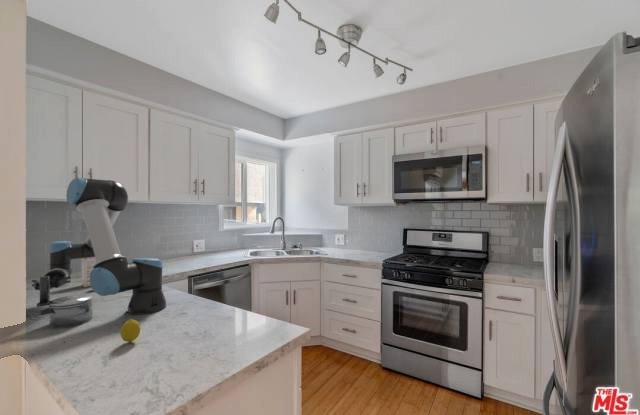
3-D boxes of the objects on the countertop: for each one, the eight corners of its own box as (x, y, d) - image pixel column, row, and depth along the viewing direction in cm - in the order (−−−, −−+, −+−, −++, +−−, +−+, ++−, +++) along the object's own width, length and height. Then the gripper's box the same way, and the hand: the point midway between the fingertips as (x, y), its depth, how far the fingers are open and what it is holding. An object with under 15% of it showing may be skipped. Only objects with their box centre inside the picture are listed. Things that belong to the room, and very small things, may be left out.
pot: (83, 313, 125) (84, 295, 125) (99, 319, 118) (99, 299, 118) (32, 326, 110) (32, 306, 110) (46, 334, 104) (47, 312, 104)
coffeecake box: (110, 280, 184) (110, 250, 184) (114, 282, 180) (114, 251, 180) (81, 285, 172) (81, 253, 172) (84, 287, 168) (85, 254, 168)
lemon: (125, 348, 93) (125, 323, 93) (117, 343, 96) (117, 320, 96) (143, 341, 98) (143, 318, 98) (135, 337, 101) (135, 315, 101)
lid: (93, 294, 125) (93, 269, 125) (92, 302, 114) (92, 274, 115) (40, 301, 115) (40, 274, 115) (34, 311, 104) (34, 280, 104)
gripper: (73, 283, 135) (63, 296, 115) (36, 287, 128) (18, 302, 108) (73, 268, 135) (63, 278, 115) (36, 271, 128) (19, 282, 108)
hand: (42, 290), depth 111 cm, fingers closed
